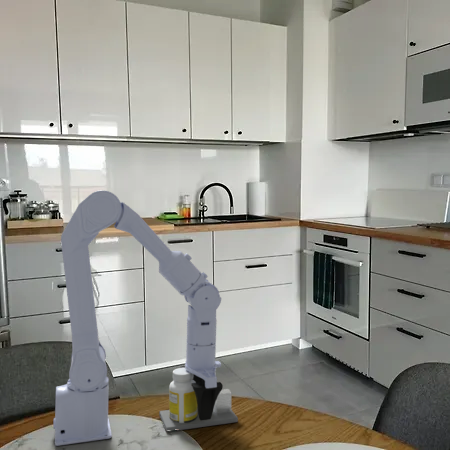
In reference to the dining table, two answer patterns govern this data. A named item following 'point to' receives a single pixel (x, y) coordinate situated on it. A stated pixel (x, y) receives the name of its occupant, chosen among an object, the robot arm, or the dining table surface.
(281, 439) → the dining table surface
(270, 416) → the dining table surface
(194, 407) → the supplement bottle
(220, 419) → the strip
